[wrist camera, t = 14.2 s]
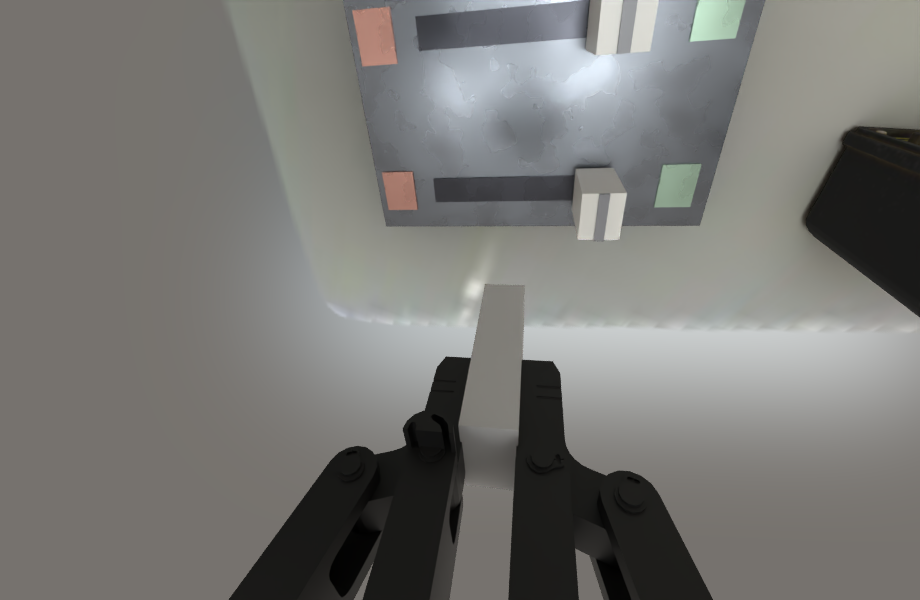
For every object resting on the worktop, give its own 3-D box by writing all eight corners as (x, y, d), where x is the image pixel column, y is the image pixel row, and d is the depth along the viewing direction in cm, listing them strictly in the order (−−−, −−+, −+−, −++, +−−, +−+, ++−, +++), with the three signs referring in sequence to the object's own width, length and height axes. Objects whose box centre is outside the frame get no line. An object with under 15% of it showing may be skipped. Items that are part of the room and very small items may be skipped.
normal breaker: (591, -15, 22) (604, -24, 18) (639, -20, 21) (664, -30, 17) (585, 49, 23) (596, 55, 19) (630, 46, 23) (651, 51, 19)
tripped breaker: (575, 168, 27) (582, 195, 23) (613, 167, 27) (627, 194, 23) (571, 209, 29) (577, 241, 25) (607, 209, 29) (619, 241, 24)
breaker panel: (351, -17, 25) (337, -20, 24) (766, -64, 21) (787, -72, 20) (393, 216, 34) (385, 227, 33) (690, 214, 30) (700, 226, 29)
